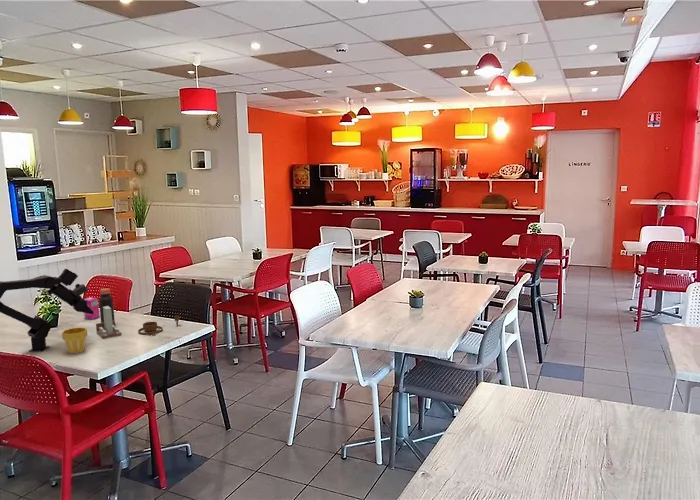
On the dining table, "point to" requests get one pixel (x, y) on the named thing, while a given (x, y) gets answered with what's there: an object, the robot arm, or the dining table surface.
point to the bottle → (105, 302)
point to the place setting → (153, 327)
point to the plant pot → (75, 339)
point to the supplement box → (92, 308)
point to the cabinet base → (103, 334)
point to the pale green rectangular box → (108, 319)
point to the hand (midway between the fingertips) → (90, 311)
